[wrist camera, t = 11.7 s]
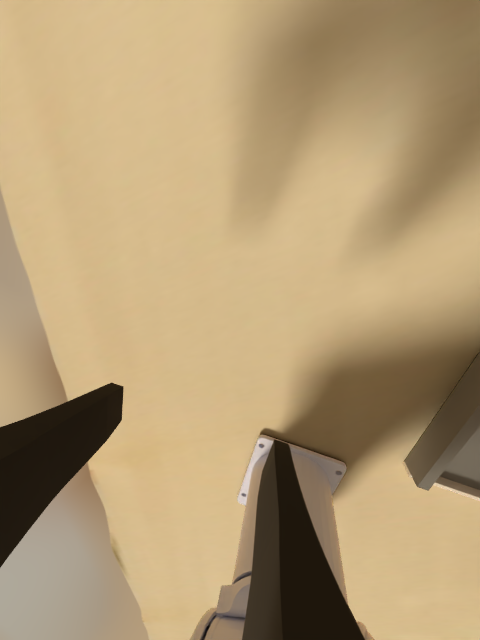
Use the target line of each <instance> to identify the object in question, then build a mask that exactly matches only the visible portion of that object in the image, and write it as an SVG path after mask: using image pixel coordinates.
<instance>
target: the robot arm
mask: <svg viewBox="0 0 480 640" xmlns="http://www.w3.org/2000/svg"><path fill="white" fill-rule="evenodd" d="M122 404H123V386H120V385H117V384H114V383H110V384H107V385H105V386H103V387H100V388H98V389H96V390H93V391H91V392H89V393H87V394H84V395H82V396H80V397H78V398H75V399H73V400H71V401H68V402H66V403H64V404H61V405H59V406H57V407H54V408H51V409H49V410H46V411H44V412H41V413H39V414H36V415H34V416H31V417H29V418H26V419H24V420H20V421H18V422H15V423H12V424H9V425H6V426H3V427H0V567H1V566H2V565H3V563H4V562H5V560H6V559H7V558H8V556H9V555H10V554H11V552H12V551H13V550H14V548H15V547H16V546H17V545H18V543H19V542H20V541H21V539H22V538H23V537H24V535H25V534H26V533H27V531H28V530H29V529H30V528H31V526H32V525H33V524H34V522H35V521H36V520H37V519H38V517H39V516H40V515H41V513H42V512H43V511H44V510H45V508H46V507H47V506H48V505H49V504H50V502H51V501H52V500H53V498H54V497H55V496H56V495H57V494H58V493H59V492H60V491H61V489H62V488H63V487H64V486H65V485H66V484H67V483H68V482H69V481H70V479H72V478H73V476H74V475H75V474H76V473H77V472H78V471H79V470H80V469H81V468H82V467H83V466H84V465H85V463H86V462H87V461H88V460H89V459H90V458H91V457H92V456H93V455H94V454H95V453H96V452H97V451H98V450H99V448H100V447H101V446H102V445H103V444H104V443H105V442H106V441H107V439H108V438H109V437H110V435H111V434H112V433H113V431H114V430H115V429H116V427H117V426H118V424H119V423H120V422H121V420H122ZM261 444H263V445H261ZM346 470H347V468H346V464H345V463H344V462H342V461H339V460H336V459H333V458H330V457H327V456H324V455H321V454H318V453H316V452H313V451H310V450H307V449H304V448H301V447H298V446H295V445H292V444H290V443H287V442H284V441H281V440H278V439H275V438H272V437H269V436H266V435H259V436H258V439H257V442H256V445H255V447H254V450H253V453H252V456H251V459H250V462H249V465H248V468H247V471H246V474H245V476H244V479H243V482H242V485H241V488H240V491H239V494H238V497H237V501H238V502H239V503H240V504H243V505H245V506H246V507H245V512H244V518H243V524H242V530H241V535H240V541H239V547H238V553H237V558H236V564H235V570H234V576H233V581H232V585H227V586H221V590H220V595H219V600H218V605H217V607H216V608H211V609H210V610H208V611H207V612H206V613H205V614H204V615H203V616H202V618H201V620H200V621H199V623H198V625H197V626H196V629H195V631H194V633H193V635H192V637H191V639H190V640H375V639H374V638H373V637H372V636H371V634H370V633H369V632H367V629H366V627H365V626H364V624H363V623H361V622H357V621H356V620H355V618H354V616H353V614H352V612H351V610H350V608H349V606H348V600H347V594H346V587H345V580H344V574H343V567H342V561H341V554H340V547H339V541H338V534H337V528H336V521H335V514H334V508H333V501H332V495H333V493H334V491H335V490H336V488H337V486H338V484H339V483H340V481H341V479H342V478H343V476H344V474H345V472H346Z"/></svg>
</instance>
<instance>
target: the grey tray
mask: <svg viewBox="0 0 480 640" xmlns="http://www.w3.org/2000/svg"><path fill="white" fill-rule="evenodd" d="M403 465H404V467H405V470H406V472H407V474H408V476H409V477H411V478H413V480H414V482H415V484H416V486H417V487H419V488H422V489H425V490H429V489H430V488H431V487H432V485H434V486H437V487H440V488H443V489H446V490H449V491H452V492H454V493H457V494H460V495H463V496H466V497H469V498H472V499H475V500H478V501H480V352H479V354H478V355H477V356H476V358H475V359H474V361H473V362H472V364H471V365H470V367H469V368H468V370H467V371H466V372H465V374H464V375H463V377H462V378H461V380H460V381H459V383H458V384H457V385H456V387H455V388H454V390H453V391H452V393H451V394H450V396H449V397H448V399H447V400H446V401H445V403H444V404H443V406H442V407H441V409H440V410H439V412H438V413H437V414H436V416H435V417H434V419H433V420H432V422H431V423H430V425H429V426H428V428H427V429H426V430H425V432H424V433H423V435H422V436H421V438H420V439H419V441H418V442H417V443H416V445H415V446H414V448H413V449H412V451H411V452H410V454H409V455H408V456H407V458H406V459H405V461H404V462H403Z"/></svg>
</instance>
